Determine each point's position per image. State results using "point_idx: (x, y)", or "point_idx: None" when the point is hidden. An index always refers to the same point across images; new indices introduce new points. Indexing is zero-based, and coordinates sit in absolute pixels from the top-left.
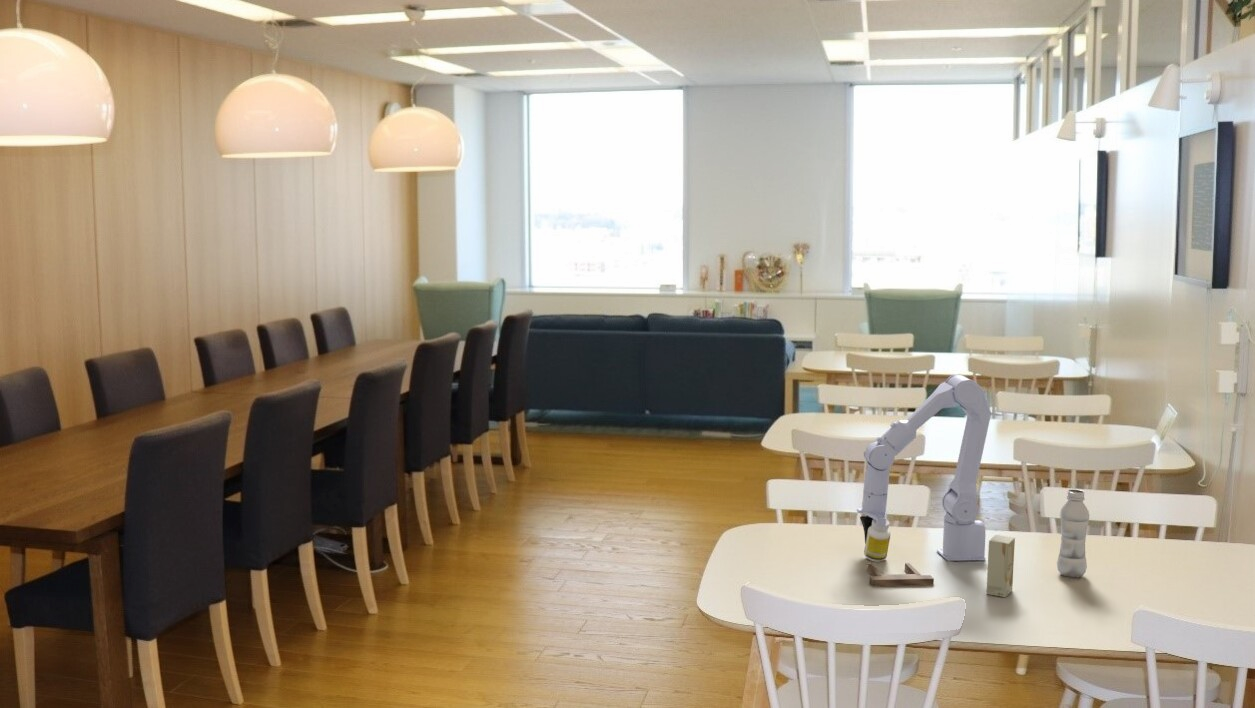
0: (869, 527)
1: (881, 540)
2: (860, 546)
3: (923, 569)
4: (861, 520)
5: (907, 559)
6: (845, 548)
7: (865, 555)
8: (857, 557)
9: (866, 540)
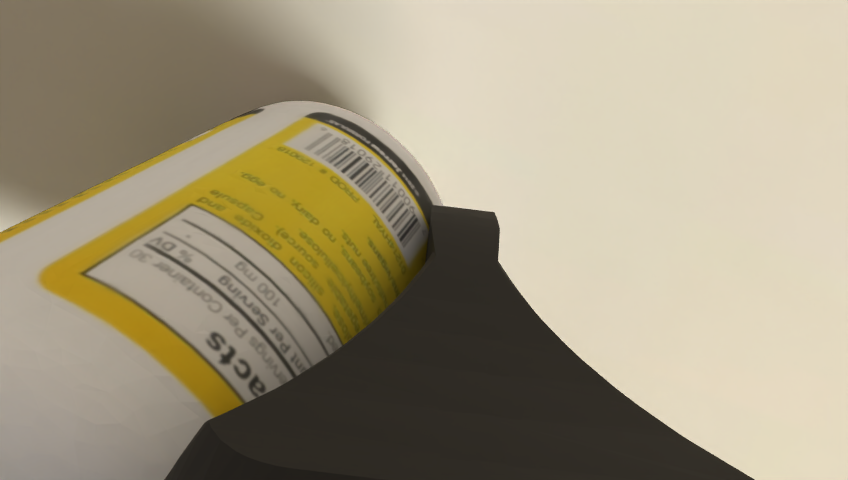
0: (28, 425)
1: None
2: (824, 227)
3: None
4: (604, 460)
5: None
6: (839, 3)
7: (282, 103)
8: (410, 22)
9: (189, 193)
